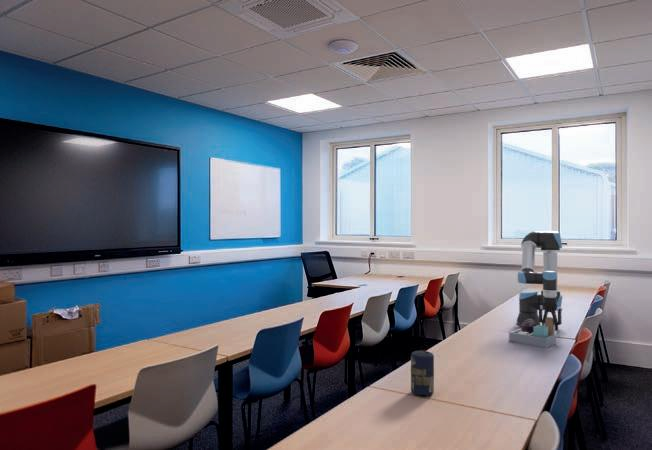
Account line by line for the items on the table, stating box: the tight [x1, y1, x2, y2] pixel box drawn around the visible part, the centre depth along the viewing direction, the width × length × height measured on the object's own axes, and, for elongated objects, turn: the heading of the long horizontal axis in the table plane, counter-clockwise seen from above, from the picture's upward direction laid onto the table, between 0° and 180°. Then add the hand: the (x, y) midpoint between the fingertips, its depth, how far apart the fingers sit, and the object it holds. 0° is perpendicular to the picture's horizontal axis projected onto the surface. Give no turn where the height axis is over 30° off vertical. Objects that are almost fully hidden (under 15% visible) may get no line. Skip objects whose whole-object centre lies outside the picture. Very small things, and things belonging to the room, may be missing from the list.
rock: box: [519, 319, 537, 334], centre depth 290 cm, size 12×9×10 cm
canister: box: [410, 350, 435, 396], centre depth 190 cm, size 10×10×18 cm
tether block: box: [533, 316, 555, 338], centre depth 270 cm, size 19×6×12 cm, turn 133°
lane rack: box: [508, 328, 557, 349], centre depth 269 cm, size 14×22×5 cm, turn 43°
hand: (550, 335), depth 274 cm, fingers closed on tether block, 5 cm apart
